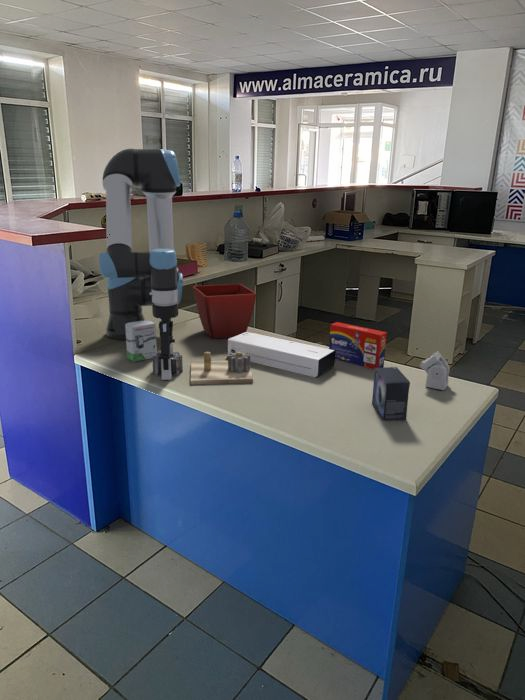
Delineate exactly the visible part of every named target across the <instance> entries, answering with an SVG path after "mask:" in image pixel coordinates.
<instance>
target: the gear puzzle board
mask: <svg viewBox="0 0 525 700" xmlns="http://www.w3.org/2000/svg"><path fill="white" fill-rule="evenodd" d="M211 355H212V354H211V352H210V351H205V352H203V360H199V361H190V385H215V384H217V385H219V384H249V383H250V384H251V383H252V384H253V383H254V377H253V374H252V370H251V362H250V355H247V353H242V352H236V353H230V355H228V354H227V360H212V357H211Z"/></svg>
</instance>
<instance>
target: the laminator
mask: <svg viewBox="0 0 525 700" xmlns="http://www.w3.org/2000/svg"><path fill="white" fill-rule="evenodd" d="M226 341H227V344H226V346H227V348H226V349H227V350H226V351H227V356H228V355H230V353H236V352H242V353H247V355H250V363H255V364H259V365H263V366H267V367H272V368H276V369H279V370H284V371H288V372H292V373H296V374H300V375H304V376H308V377H312V378H318V377H319V376H321V375H323V374H324V373H326V372H327V371H328V370H330V369H331V368H334V367H335V364H336V360H335V354H336V351H335V350H331V349H329V348H326V347H321V346H317V345H311V344H307V343H302V342H297V341H291V340H287V339H284V338H283V339H282V338H279V337H273V336H269V335H264V334H260V333H255V332H250V331H246V332H244V333H242V334H239V335H237V336H234V337H228V338H227V340H226Z"/></svg>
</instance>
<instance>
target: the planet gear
mask: <svg viewBox="0 0 525 700" xmlns="http://www.w3.org/2000/svg"><path fill="white" fill-rule="evenodd" d="M180 353H181V352H179V351H175V352H174V351H173V353H172V352H170V358H171V376H179V375H180V373H182V372H184V368H183V365H184V364H183V354H180ZM163 355H167V354H163ZM159 356H161V351H157V353H156V355H153V356H152V358H151V359H152V373H155V375H156V376H157V377H158V376H162V369H161V359H159Z"/></svg>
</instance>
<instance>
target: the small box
mask: <svg viewBox="0 0 525 700" xmlns="http://www.w3.org/2000/svg"><path fill="white" fill-rule="evenodd" d="M410 387H411V382H410V381H409V379H408V378H407V377H406V375H405V374H404V373H402V371H401V370H400V369H399V368H398V367H397V366H391V367H390V366H387V367H383V368H375V370H374V374H373V388H372V400H371V402H372V403H371V404H372V406H373V407H374V409H375V411H377V414H378V415H379V416H380V418H381V419H382V421H406V420H407V416H408V415H407V414H408V405H409V404H408V402H409V392H410Z"/></svg>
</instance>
